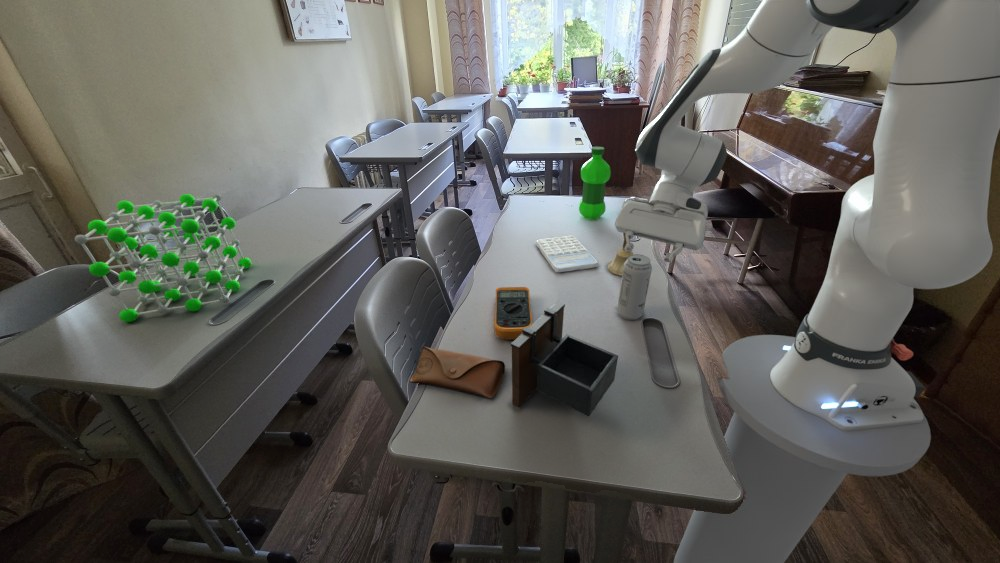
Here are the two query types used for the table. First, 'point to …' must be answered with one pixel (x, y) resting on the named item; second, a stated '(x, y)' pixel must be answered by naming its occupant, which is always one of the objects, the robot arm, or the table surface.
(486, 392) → the sunglasses case
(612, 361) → the dark grey open box
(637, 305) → the energy drink can
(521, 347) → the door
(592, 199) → the plastic bottle
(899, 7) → the robot arm
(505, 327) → the multimeter
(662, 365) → the table surface
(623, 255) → the hand bell
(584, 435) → the table surface
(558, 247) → the calculator
